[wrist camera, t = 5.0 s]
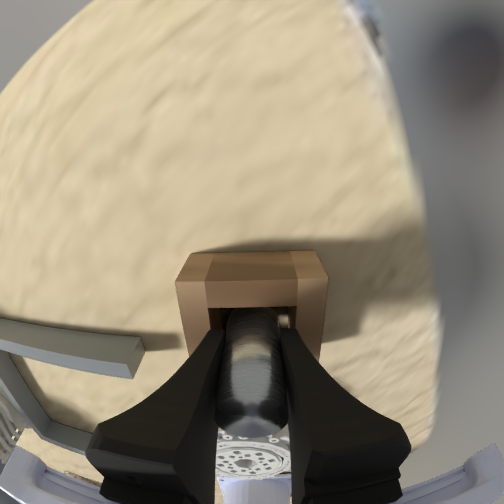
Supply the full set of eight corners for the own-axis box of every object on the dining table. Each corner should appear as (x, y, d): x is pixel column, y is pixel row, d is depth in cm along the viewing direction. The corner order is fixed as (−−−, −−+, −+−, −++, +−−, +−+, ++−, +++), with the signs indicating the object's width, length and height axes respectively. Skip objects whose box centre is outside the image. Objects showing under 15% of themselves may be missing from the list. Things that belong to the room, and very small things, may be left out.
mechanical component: (322, 433, 20) (303, 354, 16) (329, 476, 16) (313, 411, 12) (210, 449, 21) (157, 379, 18) (205, 489, 17) (139, 428, 14)
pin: (278, 343, 14) (287, 436, 8) (229, 344, 14) (218, 437, 9) (279, 301, 13) (290, 396, 8) (225, 303, 13) (208, 397, 8)
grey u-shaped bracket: (187, 457, 21) (183, 478, 19) (49, 424, 22) (41, 438, 20) (140, 337, 16) (126, 364, 14) (-16, 314, 16) (-31, 328, 14)
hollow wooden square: (307, 347, 16) (315, 383, 13) (204, 349, 16) (196, 385, 13) (314, 250, 14) (328, 278, 11) (190, 253, 14) (175, 281, 11)
